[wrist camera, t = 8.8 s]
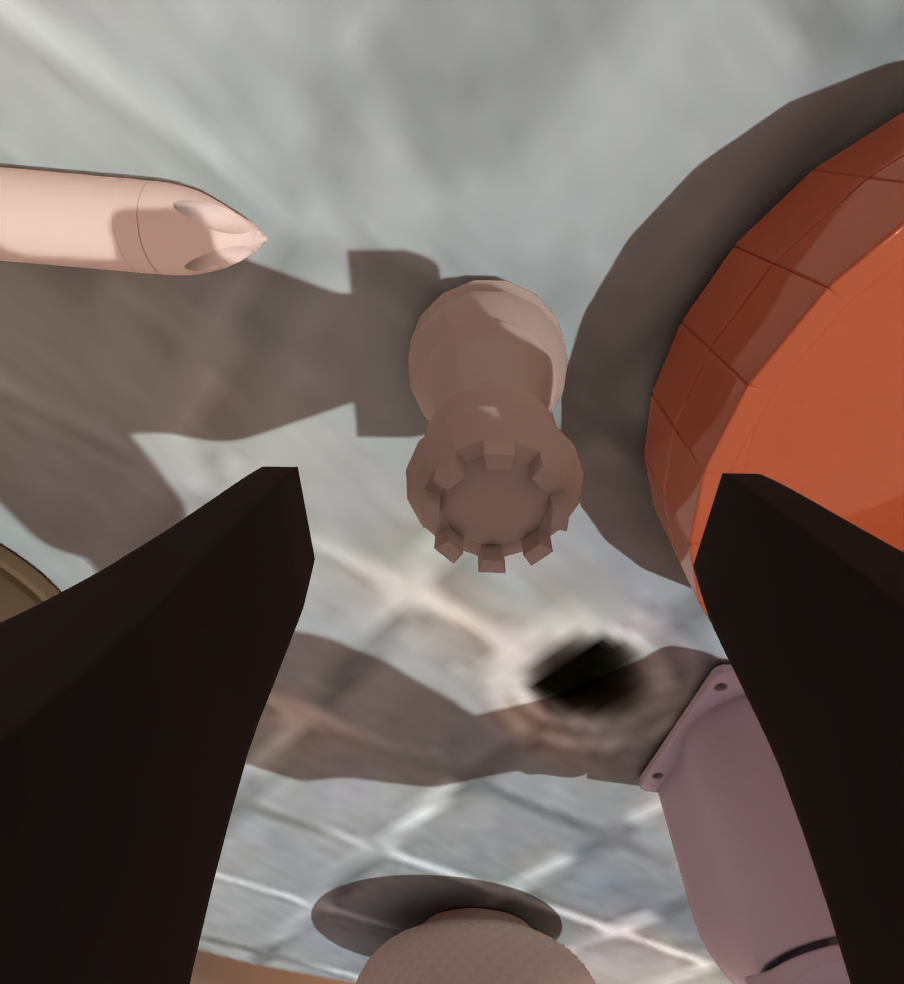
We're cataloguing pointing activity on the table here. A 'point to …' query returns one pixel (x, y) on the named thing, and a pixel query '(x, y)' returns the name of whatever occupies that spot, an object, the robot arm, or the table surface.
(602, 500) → the table surface
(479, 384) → the rook chess piece
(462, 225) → the table surface
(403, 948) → the cereal bowl
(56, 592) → the can
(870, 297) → the terracotta bowl
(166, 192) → the pink cylindrical rod
